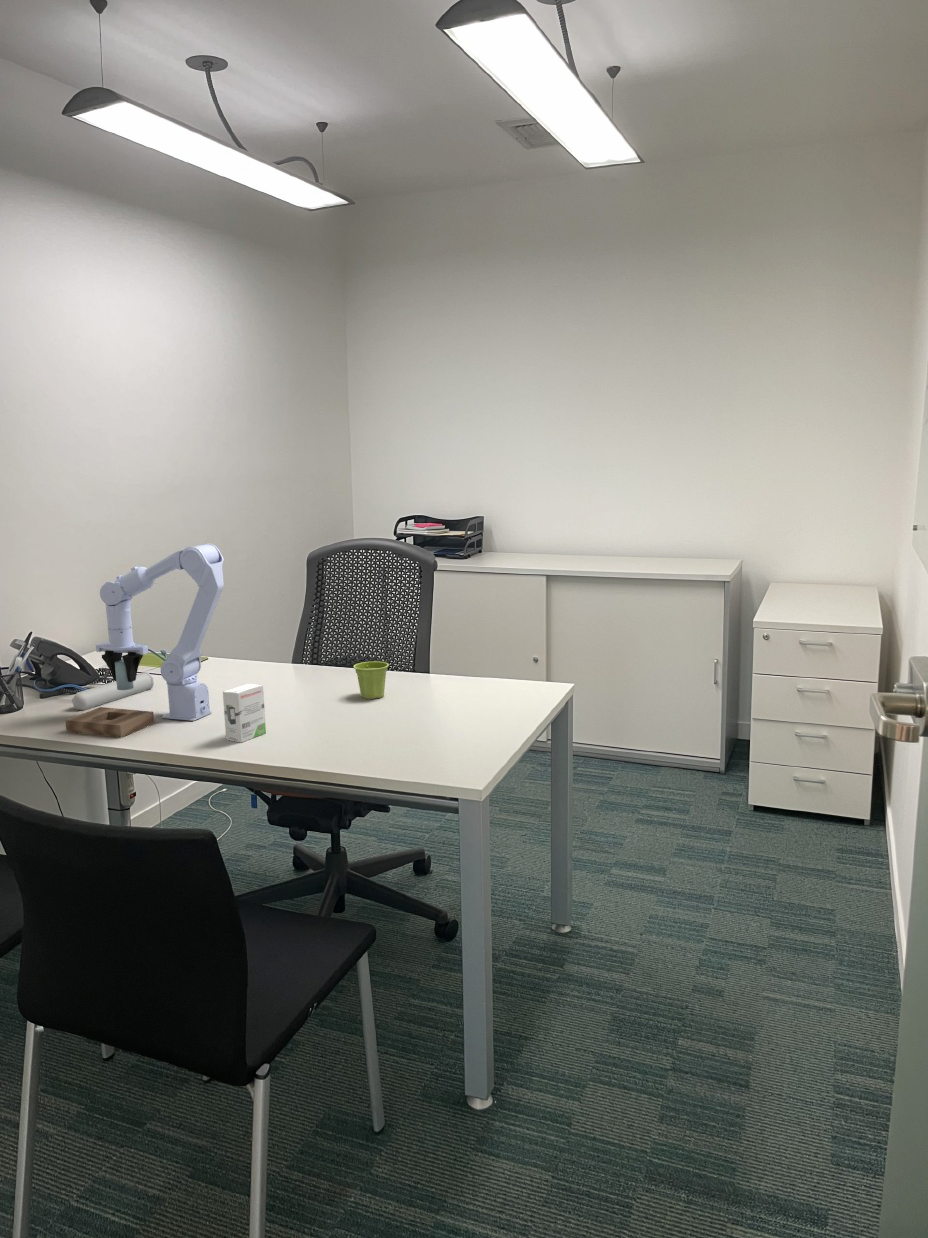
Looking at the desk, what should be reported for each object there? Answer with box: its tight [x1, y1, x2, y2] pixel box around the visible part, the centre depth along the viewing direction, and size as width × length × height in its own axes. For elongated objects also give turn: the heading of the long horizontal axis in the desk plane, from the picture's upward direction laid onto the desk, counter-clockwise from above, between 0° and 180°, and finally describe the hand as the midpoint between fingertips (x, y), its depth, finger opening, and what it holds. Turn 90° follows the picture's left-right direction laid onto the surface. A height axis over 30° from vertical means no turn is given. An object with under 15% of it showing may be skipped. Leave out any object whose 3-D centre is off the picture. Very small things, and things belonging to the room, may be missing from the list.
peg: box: [115, 659, 134, 690], centre depth 234 cm, size 4×4×7 cm
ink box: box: [222, 683, 267, 744], centre depth 213 cm, size 9×5×12 cm, turn 149°
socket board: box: [65, 706, 155, 738], centre depth 223 cm, size 16×12×3 cm
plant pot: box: [353, 661, 389, 700], centre depth 247 cm, size 9×9×9 cm
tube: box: [71, 671, 155, 711], centre depth 250 cm, size 5×5×25 cm
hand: (124, 680), depth 235 cm, fingers closed on peg, 4 cm apart
